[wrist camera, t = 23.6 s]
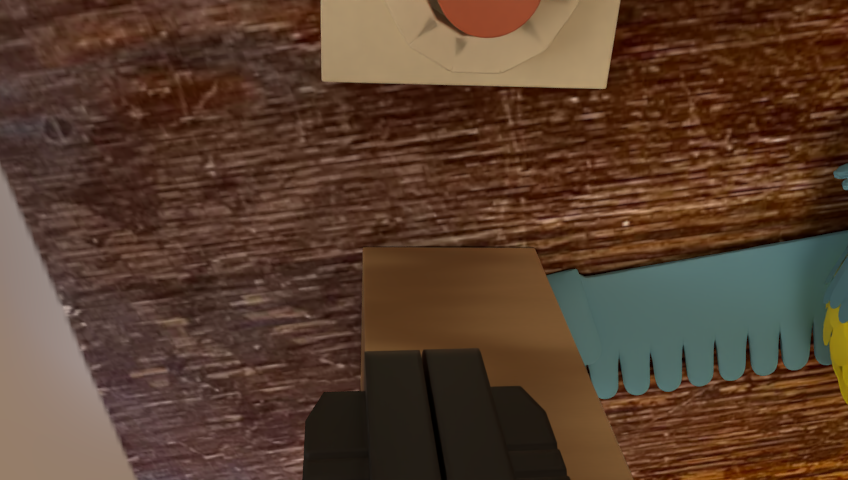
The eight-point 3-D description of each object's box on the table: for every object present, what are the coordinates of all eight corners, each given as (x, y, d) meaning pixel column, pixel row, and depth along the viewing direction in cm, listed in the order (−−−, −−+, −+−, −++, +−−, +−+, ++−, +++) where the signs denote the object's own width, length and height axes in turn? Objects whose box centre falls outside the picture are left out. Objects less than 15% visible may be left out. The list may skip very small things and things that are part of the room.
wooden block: (360, 385, 34) (365, 736, 21) (362, 246, 31) (369, 559, 18) (516, 383, 35) (616, 723, 22) (534, 247, 32) (665, 549, 18)
